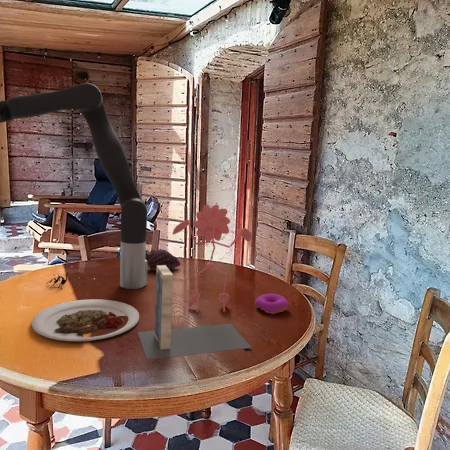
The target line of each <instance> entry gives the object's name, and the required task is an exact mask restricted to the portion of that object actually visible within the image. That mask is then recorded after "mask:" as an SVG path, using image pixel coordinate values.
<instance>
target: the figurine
mask: <svg viewBox="0 0 450 450" xmlns="http://www.w3.org/2000/svg"><path fill="white" fill-rule="evenodd" d="M228 212H229V211H228V209H226V208H220V206H219V204H214V205H212V206H211V207H210V205H208V204H205V205H204V206H203V208H202V212H201V211H196V214H195V215H196V219H197V220H195V221H194V222H192V224H193V227H194V228H196V229H197V230H196V233H195V234H196V236H198V237H204V241H200V242H197V240H196V238H195V235H194V233H193V229H192V226H191V224H190V220H189V219H186V220H183V221H182V222H180V223H178V224H177V225H176V226H175V227H174V228H173V231H172V235H174V236H175V235H176V234H178V233H180V232H182V231H183V230H185V229H186V228H187V227H188V229H189V230H190V234H191V237H192V239H193V243H194V245H196V246H197V245H203V244H211V245H212V247H213V248H212V252H211V255H210V260H209V262H207V263H206V265H205V267H204V268H203V269H202V270H201V271H199V272H198V273H197V274H196V275H195V277H194V281H195V284H194V285H195V286H194V287H195V288H194V289H195V292H194V293H195V294H194V295H193V296H192V297H191V299H190V298H189V301H188V308H191V307H192V306H194V305H196V306H195V307H196V308H195V309H196V313H199V300H200V297H201V294H200V293H197V291H198V290H197V277H198V276H199V275H200V274H202V272H204V271H205V270H207V271H213V270H214V269H215V270H217V271H218V272H220V273H221V274H223V275H225V279H224V286H223V292H222V293H219V295H218V302H219V303H221V304H222V306H223V307H222V308H223V312H224V311H225V312H226V305H227V304H228V303H229V302H230V298H231V297H230V295H229V293H227V292H226V291H225V290H226V284H227V279H228V274H227V273H226V272H224V271H222V270H220V269H218V268H217V267H215V264H214V263H213V262H212V259H213V256H214V253H215V250H216V246H215V244H217V245H219V246H222V247H226V248H229V249H231V248H232V246H233V245H234V244H235V243H236V241H237V240H238V239H239V238H240V237H242V239H244V240H245V241H246V242H250V241H251V240H252V238H253V234H252V232H251V231H250V230H249V229H248V228H246V227H243V228H241V229H240V232H239V234H238V235H237V236H236V237H235V239H234V240H233V241H232V242H231V244H230V245H226V244H224V243H220V242H218V241H220V240H221V238H222V235H223V234H224V235H227V234H229V233H230V228H229V226H228V225H230V223H231V219H230V217H229V218H228V216H227V214H228ZM179 303H180V301H178V302H177V304H179ZM225 304H226V305H225Z"/></svg>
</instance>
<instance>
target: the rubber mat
mask: <svg viewBox="0 0 450 450" xmlns="http://www.w3.org/2000/svg"><path fill="white" fill-rule="evenodd" d="M154 333H155V331H154V330H148V331H137V334H138V337H139V340H140V343H141V345H142V348H143V352H144V355H145V357H146V360H147V361H148V360H155V359H156V360H157V359H165V358H174V357H181V356H183V357H184V356H191V355H200V354H208V353H216V352H217V353H218V352H224V351H226V352H227V351H235V350H242V349H243V351H246V350H245V349H250V348H252V346H251V345H250V344H249V343H248V342H247V341H246V339H245V338H244V337H243V336H242V335H241V334H240V333H239V331H238V330H237V329H236V328H235V327H234V326H233V324H232V323H224V324H215V325H214V324H212V325H202V326H192V327H182V328H171V343H170V349H162V350H161V349H160V347H159V344H158V342H157V340H156V337H155V335H154Z"/></svg>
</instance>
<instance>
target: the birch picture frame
mask: <svg viewBox="0 0 450 450" xmlns="http://www.w3.org/2000/svg"><path fill="white" fill-rule="evenodd" d="M173 283H174V274H173V272H171V269H170V270H169V269H168V268H167V266H166V265H158V266H157V268H156V271H155V297H154V298H155V299H154V301H155V302H154V326H153V327H154V330H153V331H155V333H154V335H155V337H156V340H157V342H158V344H159V347H160V349H161V350H162V349H170V343H171V329H172V316H173V315H172V314H173V313H172V311H173V290H174V289H173V286H174V284H173Z"/></svg>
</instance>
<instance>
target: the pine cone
mask: <svg viewBox="0 0 450 450" xmlns="http://www.w3.org/2000/svg"><path fill="white" fill-rule="evenodd" d="M146 260H147V261H148V264H147V267H149V269H150V270H153V271H154V272H156V268H157V266H158V265H166V266H167V268H168V269H169V270H170V271H171V270H172V269H175V268H178V267H180V266H181V262H180V260H179V258H178V257H177V256H175V255H173V254H172V253H170V252H169V251H167V250H166V249H162V248H160V249H156V250H155V249H154V248H153V249H150V251H149V250H148V249H146Z"/></svg>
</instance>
